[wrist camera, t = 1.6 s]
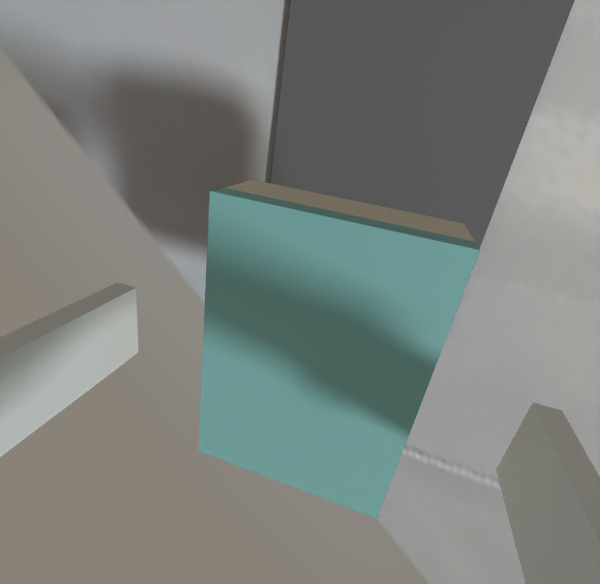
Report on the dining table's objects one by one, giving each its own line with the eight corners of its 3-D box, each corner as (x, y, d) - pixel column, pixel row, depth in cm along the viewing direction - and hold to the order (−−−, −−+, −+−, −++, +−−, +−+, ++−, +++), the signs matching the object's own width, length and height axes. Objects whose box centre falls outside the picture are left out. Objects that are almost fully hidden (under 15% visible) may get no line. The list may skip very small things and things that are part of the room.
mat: (315, -190, 16) (312, -198, 16) (645, -193, 14) (652, -202, 13) (259, 290, 26) (257, 292, 26) (442, 340, 24) (443, 343, 23)
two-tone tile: (253, 179, 12) (209, 190, 10) (464, 223, 11) (479, 250, 8) (232, 401, 17) (198, 451, 14) (383, 452, 15) (376, 518, 13)
